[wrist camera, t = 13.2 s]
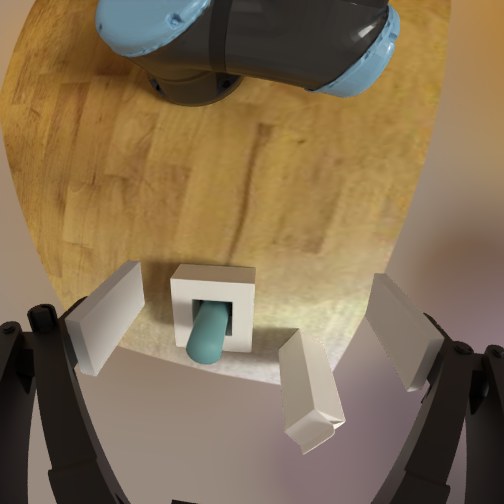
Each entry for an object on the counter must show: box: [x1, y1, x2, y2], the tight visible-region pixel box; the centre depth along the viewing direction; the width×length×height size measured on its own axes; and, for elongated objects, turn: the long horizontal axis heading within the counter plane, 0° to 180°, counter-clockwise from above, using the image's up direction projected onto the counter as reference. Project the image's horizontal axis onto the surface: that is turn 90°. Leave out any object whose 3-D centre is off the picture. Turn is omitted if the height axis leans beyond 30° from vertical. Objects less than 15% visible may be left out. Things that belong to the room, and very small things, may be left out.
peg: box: [186, 300, 231, 364], centre depth 41 cm, size 4×4×14 cm
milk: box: [278, 329, 345, 454], centre depth 40 cm, size 6×6×22 cm
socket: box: [170, 264, 256, 353], centre depth 45 cm, size 12×12×6 cm
